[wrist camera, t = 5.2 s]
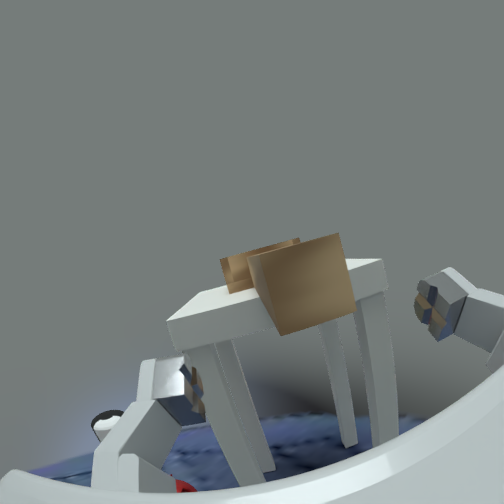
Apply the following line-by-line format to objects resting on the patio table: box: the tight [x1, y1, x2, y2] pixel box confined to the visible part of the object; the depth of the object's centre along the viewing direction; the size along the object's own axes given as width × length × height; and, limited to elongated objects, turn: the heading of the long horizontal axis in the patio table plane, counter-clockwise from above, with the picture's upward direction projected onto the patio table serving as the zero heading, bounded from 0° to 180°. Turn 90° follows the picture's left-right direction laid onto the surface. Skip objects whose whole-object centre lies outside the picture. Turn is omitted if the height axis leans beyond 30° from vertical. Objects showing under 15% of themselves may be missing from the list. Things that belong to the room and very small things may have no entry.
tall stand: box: [166, 259, 399, 487], centre depth 24 cm, size 14×15×26 cm
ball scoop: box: [220, 233, 357, 336], centre depth 18 cm, size 6×20×3 cm, turn 2°
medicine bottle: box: [91, 410, 162, 471], centre depth 30 cm, size 7×7×12 cm
